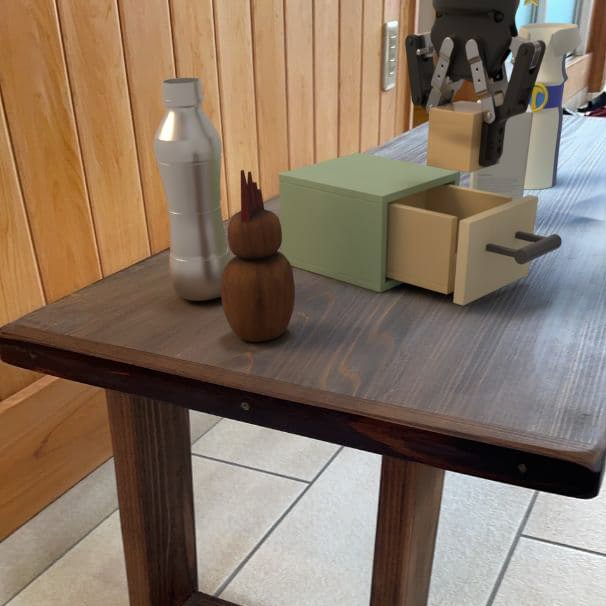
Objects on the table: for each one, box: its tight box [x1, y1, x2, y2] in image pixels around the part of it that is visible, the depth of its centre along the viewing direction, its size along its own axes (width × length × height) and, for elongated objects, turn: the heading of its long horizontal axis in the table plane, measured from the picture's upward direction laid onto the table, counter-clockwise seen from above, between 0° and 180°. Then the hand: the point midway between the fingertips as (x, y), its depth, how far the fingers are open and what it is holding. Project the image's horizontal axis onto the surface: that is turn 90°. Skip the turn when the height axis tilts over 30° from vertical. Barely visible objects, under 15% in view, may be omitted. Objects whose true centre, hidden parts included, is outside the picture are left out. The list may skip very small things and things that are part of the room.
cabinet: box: [278, 152, 461, 293], centre depth 93 cm, size 15×13×10 cm
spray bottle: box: [518, 0, 583, 190], centre depth 114 cm, size 8×9×25 cm
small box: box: [468, 99, 533, 201], centre depth 104 cm, size 8×6×13 cm
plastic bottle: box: [152, 77, 232, 301], centre depth 83 cm, size 6×7×20 cm
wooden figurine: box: [220, 169, 296, 343], centre depth 76 cm, size 7×6×15 cm
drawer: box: [385, 184, 563, 306], centre depth 86 cm, size 18×11×8 cm, turn 45°
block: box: [425, 100, 500, 174], centre depth 80 cm, size 5×5×5 cm
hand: (463, 160), depth 82 cm, fingers closed on block, 5 cm apart
